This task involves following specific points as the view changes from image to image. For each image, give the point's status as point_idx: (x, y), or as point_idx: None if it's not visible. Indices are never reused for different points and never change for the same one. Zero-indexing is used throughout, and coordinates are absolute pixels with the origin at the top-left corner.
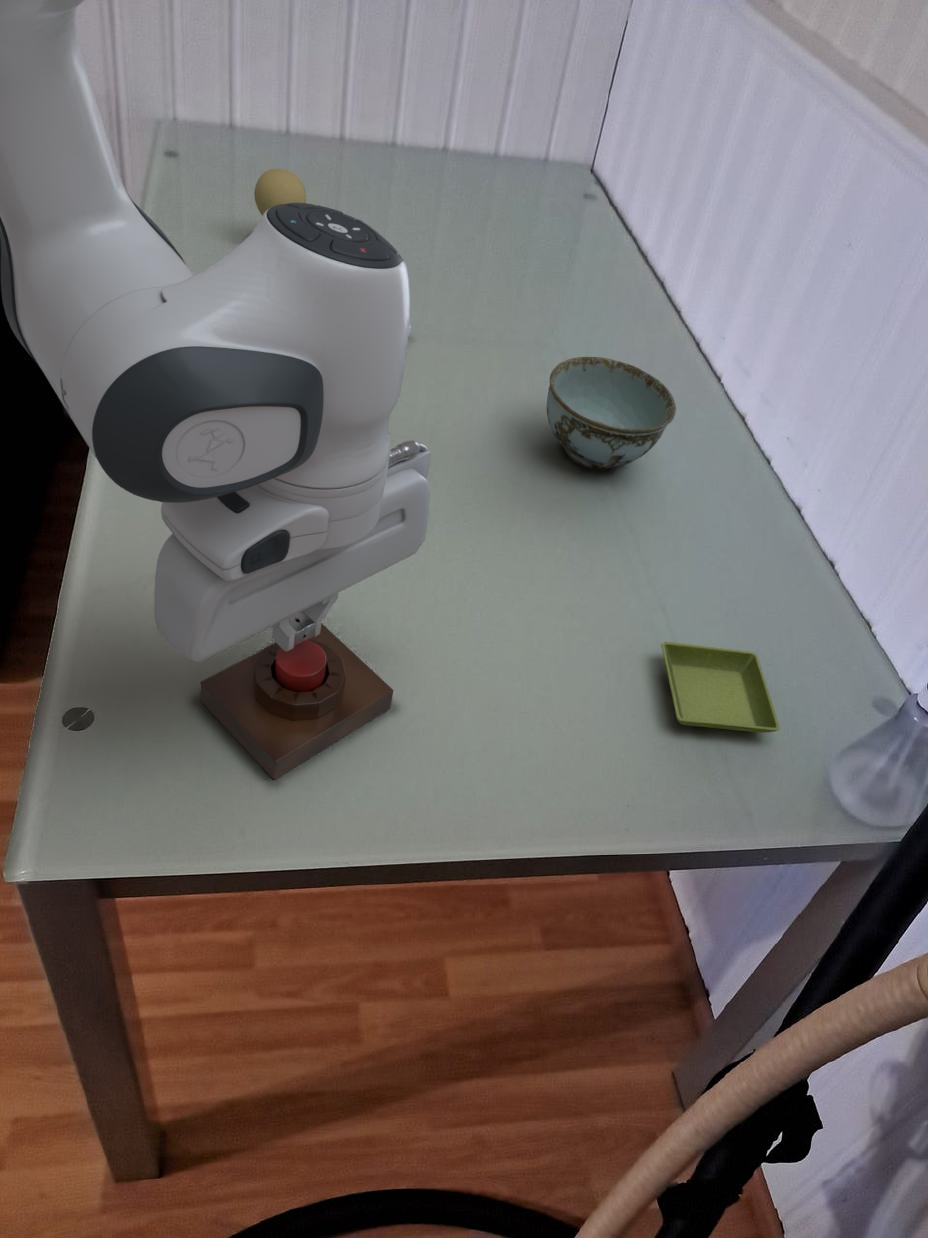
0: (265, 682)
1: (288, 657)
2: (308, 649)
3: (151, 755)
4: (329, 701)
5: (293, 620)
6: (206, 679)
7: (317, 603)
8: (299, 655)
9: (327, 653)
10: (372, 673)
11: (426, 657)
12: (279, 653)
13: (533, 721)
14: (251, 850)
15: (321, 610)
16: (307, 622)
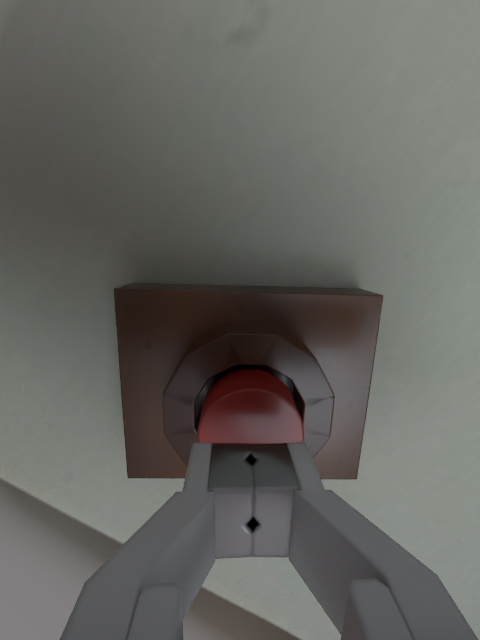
0: (177, 402)
1: (229, 424)
2: (278, 429)
3: (22, 322)
4: None
5: (241, 518)
6: (125, 290)
7: (336, 597)
8: (251, 433)
9: (318, 413)
10: (358, 438)
11: (453, 413)
12: (220, 405)
13: (457, 556)
14: (65, 499)
15: (326, 605)
16: (272, 545)
